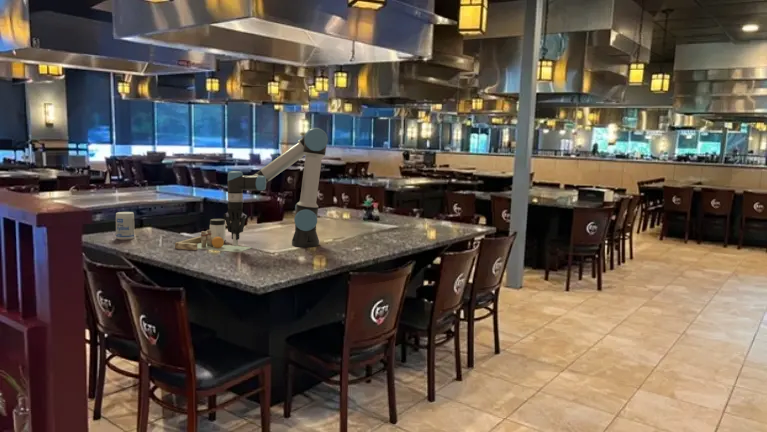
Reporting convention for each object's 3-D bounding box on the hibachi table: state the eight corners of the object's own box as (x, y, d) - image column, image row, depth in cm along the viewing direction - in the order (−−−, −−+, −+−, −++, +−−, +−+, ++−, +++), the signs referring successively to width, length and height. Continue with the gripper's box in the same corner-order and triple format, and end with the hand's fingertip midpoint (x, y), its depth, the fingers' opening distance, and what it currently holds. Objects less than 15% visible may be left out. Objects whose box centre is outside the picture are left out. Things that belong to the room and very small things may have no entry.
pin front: (216, 244, 306) (207, 230, 306) (213, 245, 303) (204, 231, 304) (212, 246, 306) (204, 233, 307) (210, 247, 304) (201, 234, 304)
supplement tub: (115, 240, 316) (114, 214, 314) (116, 237, 325) (115, 211, 323) (134, 239, 320) (134, 213, 318) (134, 236, 329) (134, 211, 327)
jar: (212, 242, 319) (211, 221, 317) (207, 240, 325) (207, 219, 324) (227, 241, 323) (227, 220, 322) (223, 238, 330) (223, 218, 329)
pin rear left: (207, 247, 304) (206, 231, 303) (204, 247, 302) (204, 232, 301) (203, 246, 305) (202, 231, 304) (200, 247, 303) (200, 231, 302)
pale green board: (252, 247, 306) (252, 247, 306) (238, 252, 293) (238, 252, 293) (200, 243, 315) (200, 242, 315) (184, 247, 302) (184, 247, 302)
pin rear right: (212, 245, 309) (212, 230, 308) (209, 246, 307) (209, 230, 306) (208, 245, 310) (208, 229, 309) (205, 245, 308) (205, 230, 306)
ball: (213, 241, 307) (221, 248, 306) (207, 243, 301) (216, 251, 301) (219, 233, 305) (228, 240, 305) (214, 235, 299) (222, 243, 299)
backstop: (218, 243, 316) (218, 237, 316) (195, 250, 295) (195, 244, 295) (199, 241, 320) (199, 236, 319) (175, 248, 299) (175, 242, 298)
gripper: (220, 201, 296) (220, 245, 299) (242, 202, 293) (242, 247, 296) (228, 199, 303) (228, 243, 306) (250, 201, 300) (250, 245, 303)
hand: (235, 245), depth 301 cm, fingers closed
